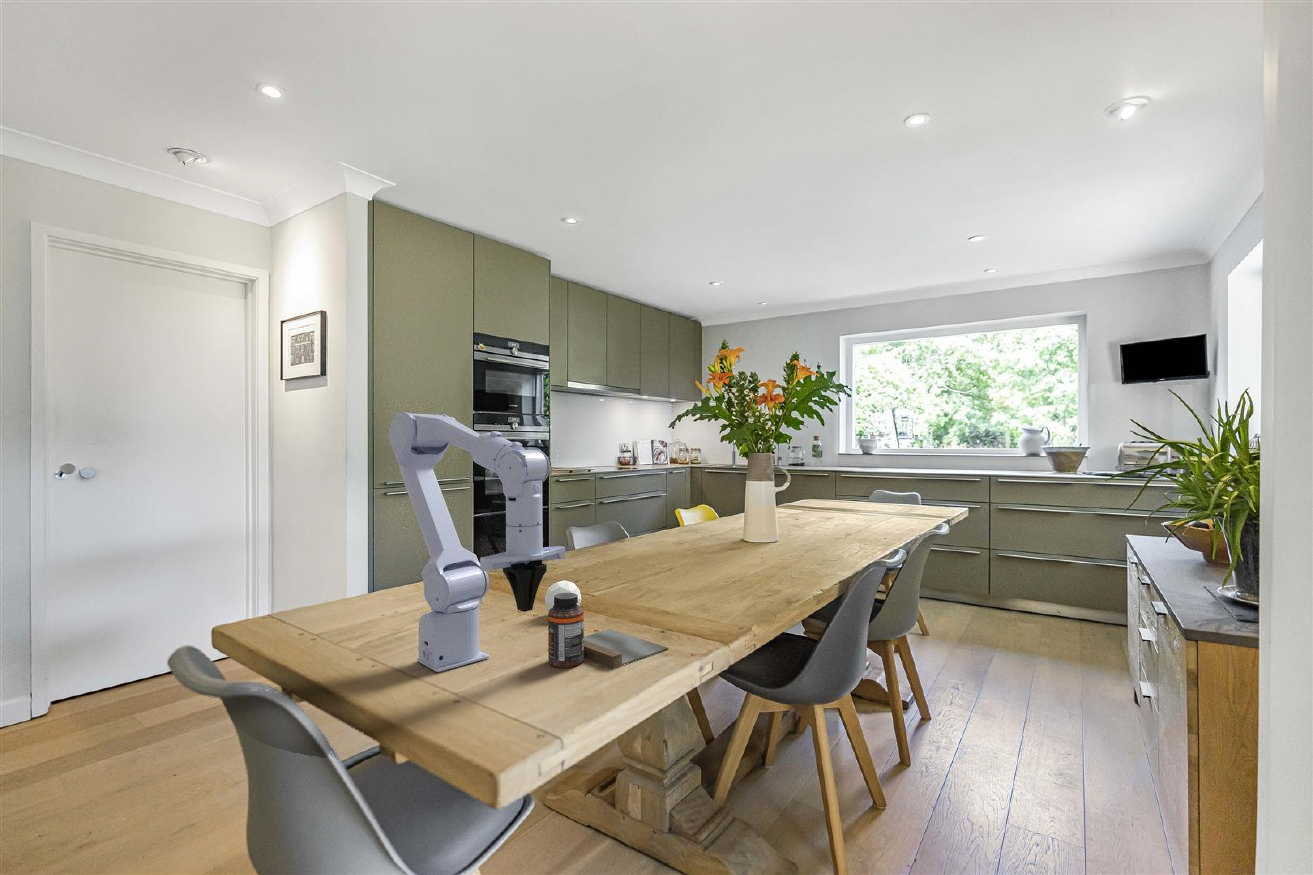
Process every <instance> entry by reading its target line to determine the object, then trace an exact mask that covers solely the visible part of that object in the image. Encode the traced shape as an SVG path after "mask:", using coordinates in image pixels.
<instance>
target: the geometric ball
mask: <svg viewBox="0 0 1313 875" xmlns="http://www.w3.org/2000/svg"><path fill="white" fill-rule="evenodd" d="M560 593H575V594H577V595H578V603H577V605H578V606H580V607H581V602H582V595H581V591H580V589H579V587H578V586H577V585H576V584H575V583H574V582H572V581H568V580H566V579H565V580H561V581H558V582H557V581H556V582H554V583H553V584H552V585H550V586H549V587H547V590H546V594H545V597H544V602H545V604H544V605H545V609H546V610H547V612H549V610H550V609H551V608H553V606H554V596H555V595H556V594H560Z"/></svg>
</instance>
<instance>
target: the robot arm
mask: <svg viewBox="0 0 1313 875" xmlns="http://www.w3.org/2000/svg"><path fill="white" fill-rule="evenodd" d="M387 437H388V440H389V443H390V445H391V448H392V451H393V454H394V457H395V460H396V463H397V464H398V467H399V472H400V475H401V479H402V480H403V484H404V487H405V489H406V492H407V494H408V498H409V501H410V503H411V506H412V509H413V511H414V512H413V513H414V515H415V517H416V521H417V523H418V527H419V529H420V532H421V535H422V538H423V540H424V543H425V546H426V549H427V552H428V555H429V557H430V559H429V561H428V562H427V563H426V564H425V566H424V567H423V568H422V571H421V572H420V575H421V578H422V581H423V595H424V596H423V597H424V599H425V601H426V603H427V604H428V606H429V607H430V608H431V611H430V612H428V613H424V614H422V615H421V616H420V618H419V624H418V657H417V658H416V661H417V662H418V663H420V664H422V665H424V666H425V667H427V668H429V669H431V670H432V671H434V672H436V673H440V672H444V671H447V670H451V669H454V668H458V667H462V666H465V665H468V664H472V663H475V662H478V661H479V662H480V661H483V660H486V659H489V658H490V654H488V653H487V652H484V651H483V650H480V605H481V604H483V599H484V597H486V595H487V594H488V592H489V589H490V588H489V587H490V579H489V575H488V572H492V571H494V570H499V569H502V572H503V574H504V575H505V577H506V579H507V580H508V583H509V585H510V587H511V590H512V593H513V597H514V601H515V604H516V608H517V610H518V611H521V612H523V613H525V612H529V611H533V608H534V604H535V600H536V596H537V594H538V593H537V592H538V589H539V587H540V584H541V582H542V580H543V578H544V576H545V574H546V572H547V571H548V568H547V567H548V565H547V563H543V562H547V561H552V560H565V559H566V546H561V545H555V546H554V545H553V546H547V547H546V546H545V547H543V546H544V545H543V544H544V543H543V542H544V538H543V535H544V534H543V530H544V529H543V527H544V526H543V522H544V521H543V482H545V481H546V480H547V479H548V477H549V474H550V471H551V470H550V469H551V466H550V465H551V464H550V460H549V458H548V456H547V455H546V454H545V452H543V451H542V450H541V449H540V448H537V447H536V448H530V449H525V448H524V446H523V444H522V443H521V442H519V441H512V440H511V441H510V440H508V439H506V438H505V437H504V438H503V433H502V432H500V431H495V430H493V431H490V432H489V431H487V432H483V433H481V434H480V433H478V432H476V431H475V430H473V429H472V428H470V427H468V426H466V425H465V424H463V423H461V422H459V421H458V420H456V418H455V417H453V416H449V415H447V414H445V413H440V414H432V413H431V414H429V413H425V414H424V413H412V412H411V413H409V412H407V411H400V412H399V413H396V414H395V416H394V417H393V419H392V421H391V423H390V428H389V431H388V434H387ZM450 445H452V446H455V447H457V448H459V449H461V450H464V451H466V452H469V453H470V455H471V459H472V460H473V462H474V463H475V464H477V465H479V466H481V467H483V468H485V469H487V470H488V471H491V472H492V473H494V474H495V475H498V479H499V481H500V482H501V483H502V493H503V496H505V525H506V526H505V542H506V543H505V544H506V545H505V549H506V551H505V552H504V551H503V552H500V553H496V554H492V555H487V556H482V557H480V558H479V560H478V557H477V554H475V553H474V552H472V551H470V550H469V549H466V548H464V547H463V546H462V544H461V540H460V539H459V536H458V532H457V530H456V528H455V525H454V522H453V519H452V516H451V514H450V512H449V509H448V506H447V503H446V500H445V498H444V496H443V493H442V489H441V487H440V485H439V481H438V479H437V477H436V474H435V471H434V468H435V466H436V465H437V464H439V463H440V462H441V460H442V459H443V457H444V456H445V454H446V452H447V450H448V448H449V446H450Z"/></svg>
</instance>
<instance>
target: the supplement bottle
mask: <svg viewBox="0 0 1313 875" xmlns="http://www.w3.org/2000/svg"><path fill="white" fill-rule="evenodd" d="M577 603H578V595H577V594H575V593H560V594H556V595H555V596H554V606H553V608H551V609H550V610H549V611H548V614H547V616H548V618H547V625H548V627H547V629H548V632H547V633H548V634H547V635H548V637H547V639H548V640H547V641H548V642H547V646H548V648H547V650H548V651H547V652H548V663H549V664H550V665H551V666H553V667H555V668H565V669H566V668H572V667H573V668H574V667H576V666H578V665H580V664H582V662H583V661H584V659H585V658H584V637H585V628H584V627H585V622H584V621H585V618H584V616H585V615H584V609H583V608H582V607H581V605H580V606H578V605H577Z"/></svg>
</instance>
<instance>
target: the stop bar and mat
mask: <svg viewBox="0 0 1313 875" xmlns="http://www.w3.org/2000/svg"><path fill="white" fill-rule="evenodd" d="M668 650H669V647H667V646H663V645H661V644H657V643H655V642H651V641H648V640H645V639H642V638H640V637H636V636H632V635H630V634H626V633H624V632H620V631H617V630H614V629H606V630H603V631H599V632H597V633H592V634H589V635H586V636H585V635H584V659H587V660H589V661H591V662H594V663H597V664H599V665H601V666H605V667H607V668H610V669H612V670H614V669H617V668H621V667H622V665H623V666H625V665H624V664H626V665H628V664H627V663H629V664H631V663H634V662H637V661H639V660H638V659H640V660H642V658H643V659H645V657H646V658H648V657H650V656H649V655H651V656H653V655H656V654H660V653H663V652H665V651H668ZM662 651H663V652H662ZM659 652H660V653H659ZM647 656H648V657H647ZM636 660H637V661H636ZM633 661H634V662H633Z"/></svg>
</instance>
